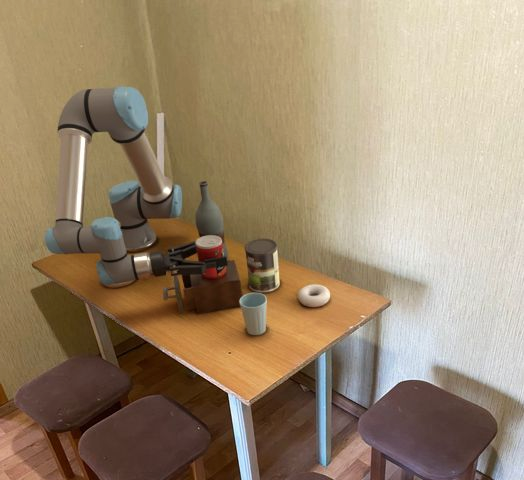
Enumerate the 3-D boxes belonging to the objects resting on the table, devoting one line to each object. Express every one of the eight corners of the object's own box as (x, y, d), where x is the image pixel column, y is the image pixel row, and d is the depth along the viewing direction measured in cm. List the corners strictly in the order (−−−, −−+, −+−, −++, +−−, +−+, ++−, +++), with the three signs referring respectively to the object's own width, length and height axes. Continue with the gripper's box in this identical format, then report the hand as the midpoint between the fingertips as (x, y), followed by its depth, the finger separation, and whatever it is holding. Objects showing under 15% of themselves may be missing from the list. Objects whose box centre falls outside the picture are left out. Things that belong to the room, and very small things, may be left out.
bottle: (213, 275, 181) (199, 190, 162) (198, 266, 187) (183, 183, 168) (234, 264, 185) (223, 181, 167) (219, 256, 191) (207, 174, 173)
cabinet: (197, 313, 163) (191, 287, 157) (193, 293, 173) (188, 267, 167) (243, 305, 164) (240, 279, 159) (237, 285, 174) (234, 259, 168)
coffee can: (265, 296, 168) (261, 256, 159) (242, 286, 173) (237, 248, 165) (286, 282, 173) (284, 243, 164) (263, 273, 179) (259, 235, 170)
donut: (336, 298, 163) (312, 287, 169) (337, 289, 161) (312, 278, 167) (315, 313, 158) (291, 301, 164) (315, 303, 156) (290, 292, 162)
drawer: (166, 315, 162) (161, 294, 157) (165, 296, 171) (160, 275, 166) (223, 305, 164) (219, 284, 159) (218, 287, 173) (215, 266, 168)
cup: (261, 340, 150) (257, 310, 143) (238, 333, 153) (234, 303, 147) (274, 326, 155) (271, 295, 148) (251, 320, 158) (248, 290, 152)
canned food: (223, 279, 159) (218, 247, 152) (197, 279, 161) (191, 246, 154) (229, 267, 165) (224, 234, 158) (204, 266, 166) (199, 234, 160)
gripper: (153, 258, 168) (221, 247, 170) (154, 295, 151) (231, 281, 153) (148, 237, 164) (218, 225, 166) (148, 272, 146) (228, 258, 148)
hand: (224, 252), depth 159 cm, fingers open, 10 cm apart
